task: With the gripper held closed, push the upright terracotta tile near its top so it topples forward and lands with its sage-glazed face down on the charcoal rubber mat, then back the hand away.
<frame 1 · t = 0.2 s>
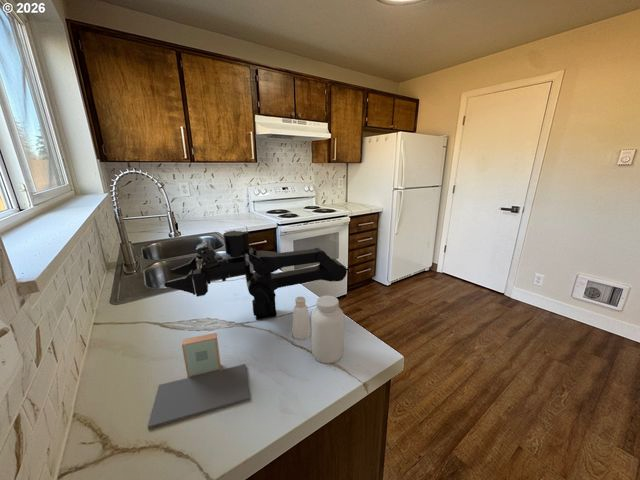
hand: (167, 277, 72), 17 cm above the countertop, tool horizontal, fingers open, 9 cm apart
pepper shaker: (301, 334, 75), on the countertop
pill bottle: (327, 353, 68), on the countertop
tile: (204, 371, 62), on the countertop
mat: (203, 393, 56), on the countertop
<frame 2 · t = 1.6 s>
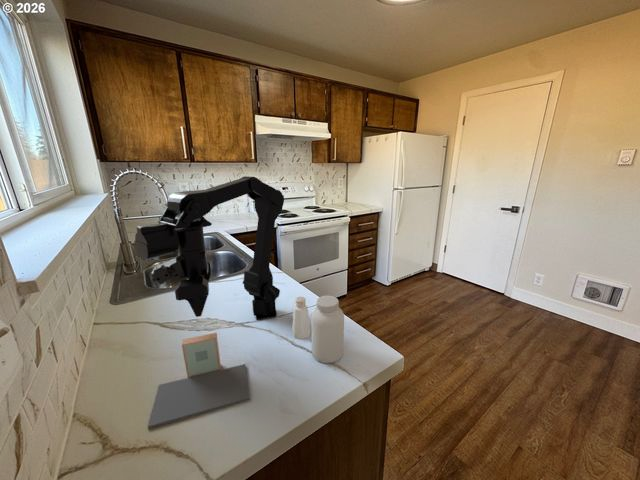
hand: (200, 307, 66), 12 cm above the countertop, tool pointing down, fingers open, 8 cm apart
nothing on the countertop moved.
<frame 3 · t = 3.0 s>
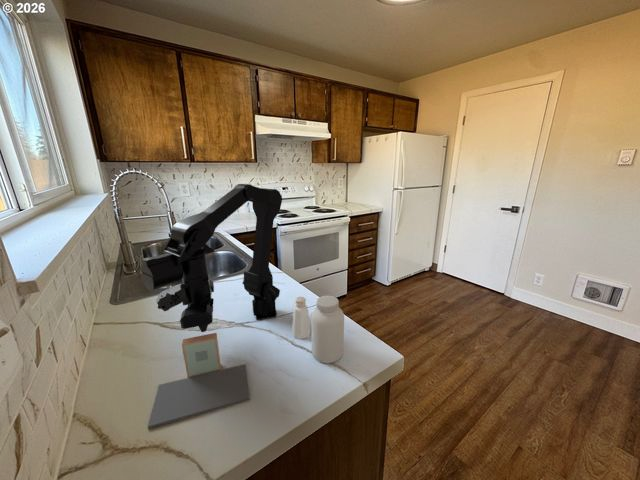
hand: (203, 331, 67), 6 cm above the countertop, tool pointing down, fingers closed
nothing on the countertop moved.
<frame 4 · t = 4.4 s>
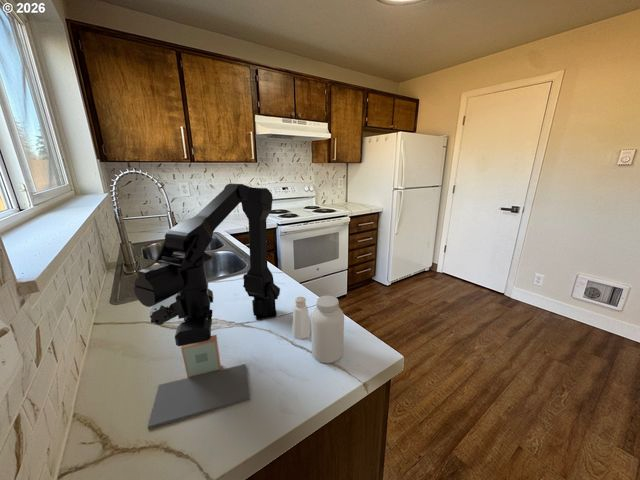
hand: (201, 345, 62), 6 cm above the countertop, tool pointing down, fingers closed
tile: (204, 371, 62), on the countertop, tilted 7°, touching gripper
everything else where it was.
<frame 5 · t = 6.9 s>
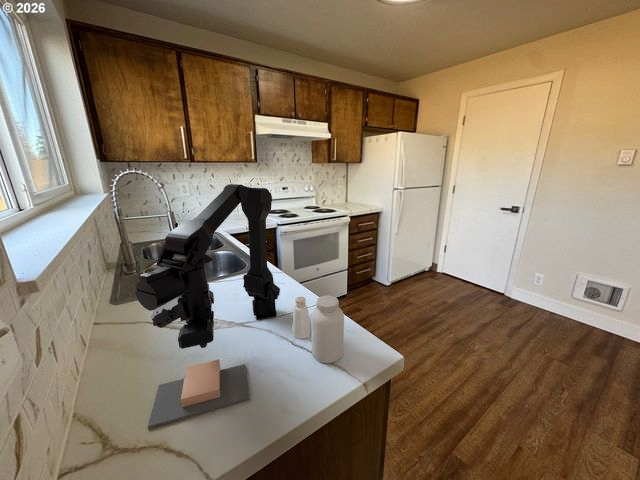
hand: (203, 346, 62), 5 cm above the countertop, tool pointing down, fingers closed
tile: (203, 366, 61), point 2 cm above the countertop, tilted 90°, touching mat
everything else where it was.
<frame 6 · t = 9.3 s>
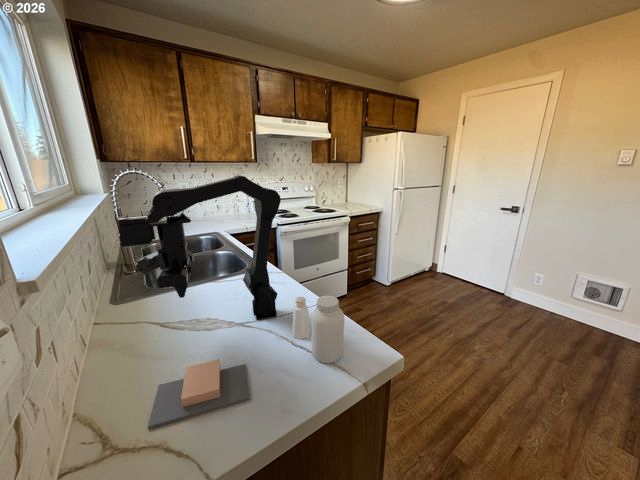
hand: (182, 297, 71), 12 cm above the countertop, tool pointing down, fingers closed
nothing on the countertop moved.
at the end: tile tilted 90°; tile inside the target area (3.6 cm from its centre), point 1.7 cm above the countertop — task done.
